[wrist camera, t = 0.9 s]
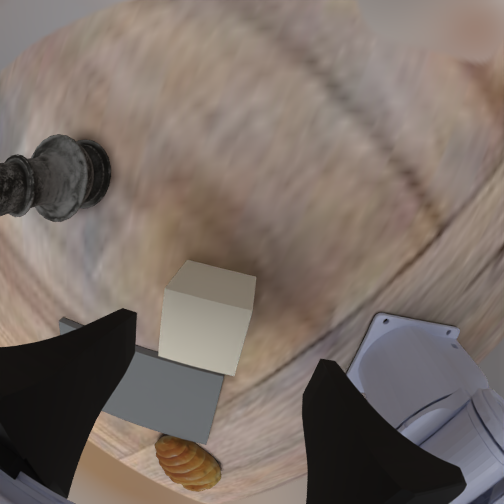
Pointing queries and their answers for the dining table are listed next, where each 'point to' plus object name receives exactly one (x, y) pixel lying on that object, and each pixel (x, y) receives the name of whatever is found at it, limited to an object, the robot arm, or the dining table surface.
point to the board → (163, 394)
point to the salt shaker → (55, 179)
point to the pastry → (187, 463)
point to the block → (206, 316)
